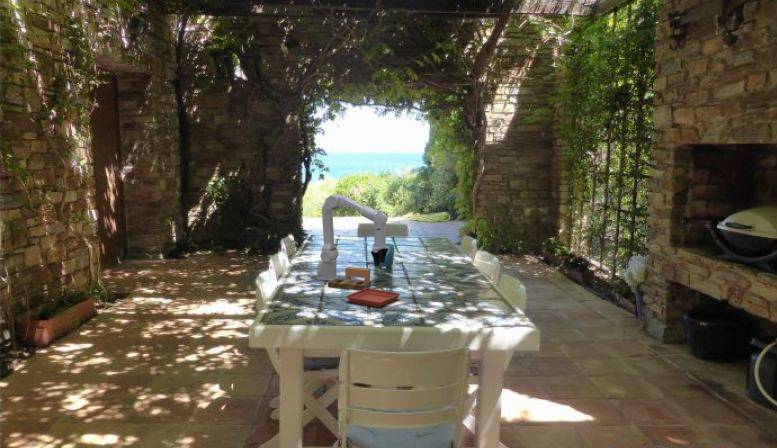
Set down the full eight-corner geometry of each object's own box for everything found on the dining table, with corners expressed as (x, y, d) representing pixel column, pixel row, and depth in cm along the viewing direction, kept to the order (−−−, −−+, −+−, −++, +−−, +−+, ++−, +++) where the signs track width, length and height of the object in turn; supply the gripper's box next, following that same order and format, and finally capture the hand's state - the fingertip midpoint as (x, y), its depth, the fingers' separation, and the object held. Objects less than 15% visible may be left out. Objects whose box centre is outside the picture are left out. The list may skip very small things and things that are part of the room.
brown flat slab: (327, 287, 268) (327, 282, 268) (335, 283, 276) (335, 278, 276) (364, 291, 262) (364, 285, 262) (371, 286, 271) (371, 281, 270)
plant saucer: (367, 294, 258) (367, 287, 257) (401, 300, 249) (401, 293, 248) (345, 303, 242) (345, 296, 242) (380, 310, 233) (380, 302, 233)
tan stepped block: (345, 281, 280) (345, 268, 279) (348, 280, 283) (348, 266, 282) (367, 284, 276) (367, 270, 275) (370, 282, 280) (370, 268, 279)
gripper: (383, 239, 266) (382, 267, 268) (392, 235, 280) (391, 261, 281) (369, 238, 268) (369, 266, 270) (379, 234, 282) (378, 260, 284)
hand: (379, 264), depth 276 cm, fingers open, 7 cm apart
